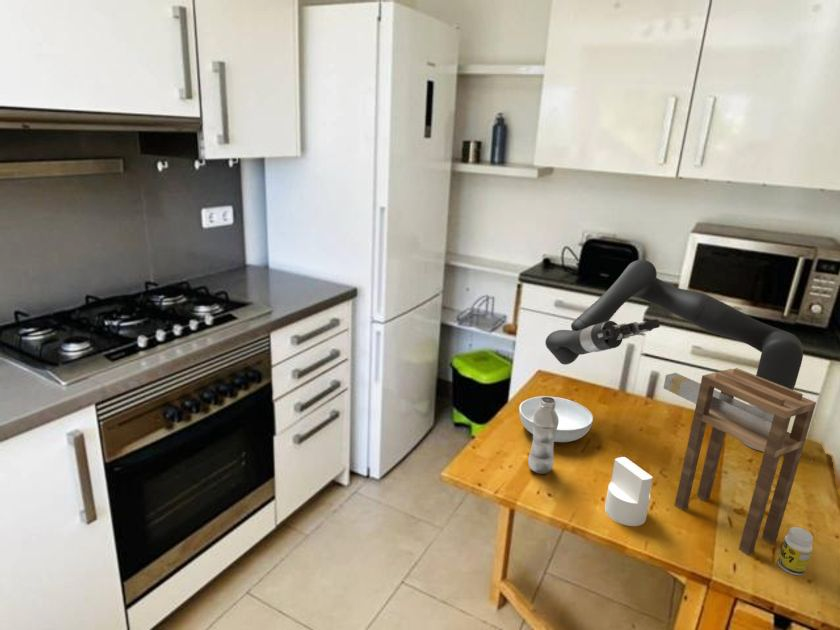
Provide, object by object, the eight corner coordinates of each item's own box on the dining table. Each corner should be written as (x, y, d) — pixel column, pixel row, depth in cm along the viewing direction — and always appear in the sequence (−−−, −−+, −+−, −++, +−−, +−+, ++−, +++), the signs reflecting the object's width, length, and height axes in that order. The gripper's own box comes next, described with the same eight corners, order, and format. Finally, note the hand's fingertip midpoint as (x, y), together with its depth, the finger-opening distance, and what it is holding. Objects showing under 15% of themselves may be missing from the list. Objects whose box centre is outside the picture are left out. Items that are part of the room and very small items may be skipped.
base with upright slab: (596, 505, 129) (603, 461, 125) (626, 497, 132) (634, 453, 129) (624, 530, 121) (632, 483, 117) (654, 520, 125) (664, 475, 121)
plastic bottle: (555, 466, 144) (564, 397, 138) (549, 480, 138) (558, 408, 132) (530, 460, 146) (538, 391, 140) (524, 473, 140) (532, 402, 134)
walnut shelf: (702, 494, 135) (732, 363, 124) (776, 541, 120) (817, 396, 109) (674, 505, 130) (703, 370, 119) (747, 555, 115) (788, 406, 104)
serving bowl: (598, 428, 164) (601, 407, 162) (577, 460, 147) (580, 438, 145) (532, 409, 174) (534, 389, 172) (505, 436, 157) (507, 415, 155)
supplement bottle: (772, 559, 114) (781, 525, 112) (793, 558, 115) (803, 524, 112) (788, 576, 110) (799, 541, 107) (810, 575, 110) (821, 541, 108)
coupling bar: (673, 385, 135) (675, 372, 134) (780, 436, 113) (785, 421, 112) (663, 388, 133) (665, 375, 132) (770, 439, 111) (774, 424, 110)
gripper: (577, 327, 149) (622, 313, 135) (615, 321, 156) (662, 307, 141) (584, 354, 148) (630, 343, 134) (622, 346, 155) (669, 335, 140)
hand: (646, 325), depth 138 cm, fingers open, 8 cm apart
